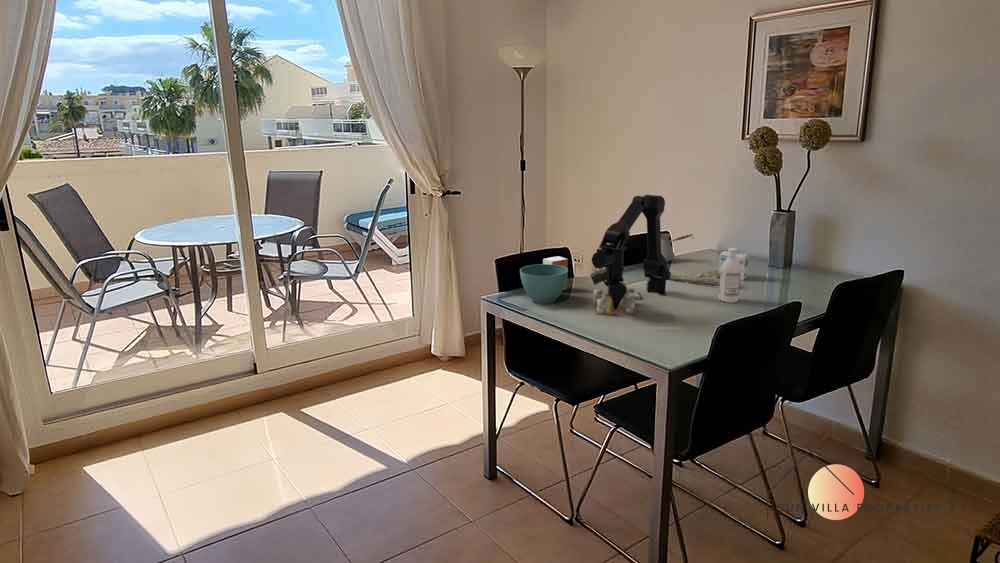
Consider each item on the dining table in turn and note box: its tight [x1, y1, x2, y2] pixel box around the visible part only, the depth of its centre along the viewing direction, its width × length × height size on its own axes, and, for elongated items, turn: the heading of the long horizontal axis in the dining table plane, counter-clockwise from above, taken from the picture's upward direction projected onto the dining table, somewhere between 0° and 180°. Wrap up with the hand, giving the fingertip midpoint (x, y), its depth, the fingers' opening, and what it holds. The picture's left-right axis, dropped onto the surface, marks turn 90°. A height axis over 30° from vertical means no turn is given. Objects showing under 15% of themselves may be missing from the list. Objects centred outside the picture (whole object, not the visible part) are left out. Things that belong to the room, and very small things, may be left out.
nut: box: [604, 293, 623, 310], centre depth 225 cm, size 6×6×5 cm
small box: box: [542, 255, 569, 291], centre depth 251 cm, size 8×6×13 cm
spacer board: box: [591, 288, 637, 316], centre depth 225 cm, size 14×16×6 cm
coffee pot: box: [661, 232, 694, 263], centre depth 293 cm, size 21×12×15 cm, turn 42°
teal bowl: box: [519, 263, 569, 304], centre depth 237 cm, size 18×18×12 cm
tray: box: [606, 287, 641, 301], centre depth 241 cm, size 11×11×2 cm
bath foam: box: [718, 247, 741, 303], centre depth 233 cm, size 7×7×20 cm
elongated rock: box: [668, 269, 721, 287], centre depth 262 cm, size 35×5×10 cm
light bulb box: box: [718, 251, 749, 280], centre depth 266 cm, size 11×7×11 cm, turn 58°
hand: (613, 305), depth 226 cm, fingers open, 9 cm apart
